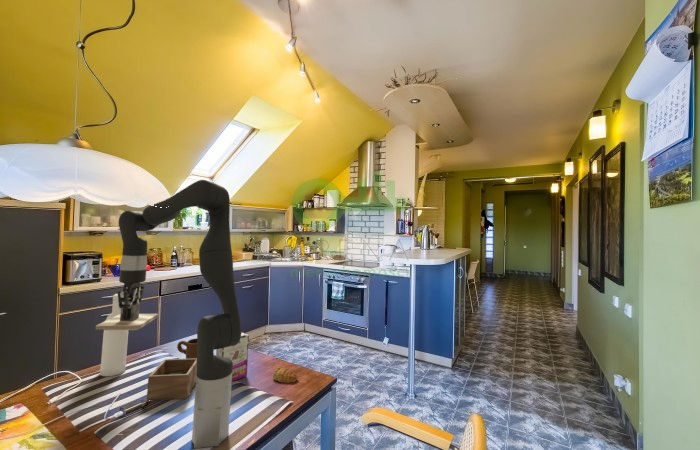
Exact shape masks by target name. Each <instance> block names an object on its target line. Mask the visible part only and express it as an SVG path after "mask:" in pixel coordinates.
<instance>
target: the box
mask: <svg viewBox="0 0 700 450" xmlns="http://www.w3.org/2000/svg"><path fill="white" fill-rule="evenodd" d="M196 374H197V358H192V359H186V358H172V359H171V358H165V359H163V360H162V362H161V363H159V365H158V366H157V367H156V368H155V369H154V370H153V371H152V372H151V373H150V374H149V375H148V377H147V391H146V402H150V401H149V400H154V401H153V402H160V401H161V400H162V401H174V400H175V399H179V400H187V399H188V397H189V396H190V394H191V392H192V390H193V389H192V388H194V387H195V386H196V384H195V383H196ZM189 393H190V394H189ZM188 395H189V396H188ZM175 401H176V400H175Z"/></svg>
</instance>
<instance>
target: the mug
mask: <svg viewBox="0 0 700 450" xmlns="http://www.w3.org/2000/svg"><path fill="white" fill-rule="evenodd" d="M182 345H183V346H184V347H186V348H183V346H182ZM176 348H177V351H178V352H179V353H182V354H184V355H185V359H192V358H197V337H196V338H192V339H189V340H187V341H186V340H181V341H179V342H177V344H176Z"/></svg>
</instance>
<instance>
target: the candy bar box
mask: <svg viewBox="0 0 700 450" xmlns="http://www.w3.org/2000/svg"><path fill="white" fill-rule="evenodd" d="M249 337H250V335H249V334H247V333H245V332H242V331H241V338H240V341H239V343H238V344H236V345H234V346H230V347H225V348H220V349H215V350H216V353H215V355H216V356H222V357H227V358H229V359H231V360H232V363H233V370H232V381H233V382H235V381H239V380H240V379H241V380H242V379H243V378H245V377H247V376H248V362H249V360H248V359H249V340H250V339H249Z"/></svg>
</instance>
